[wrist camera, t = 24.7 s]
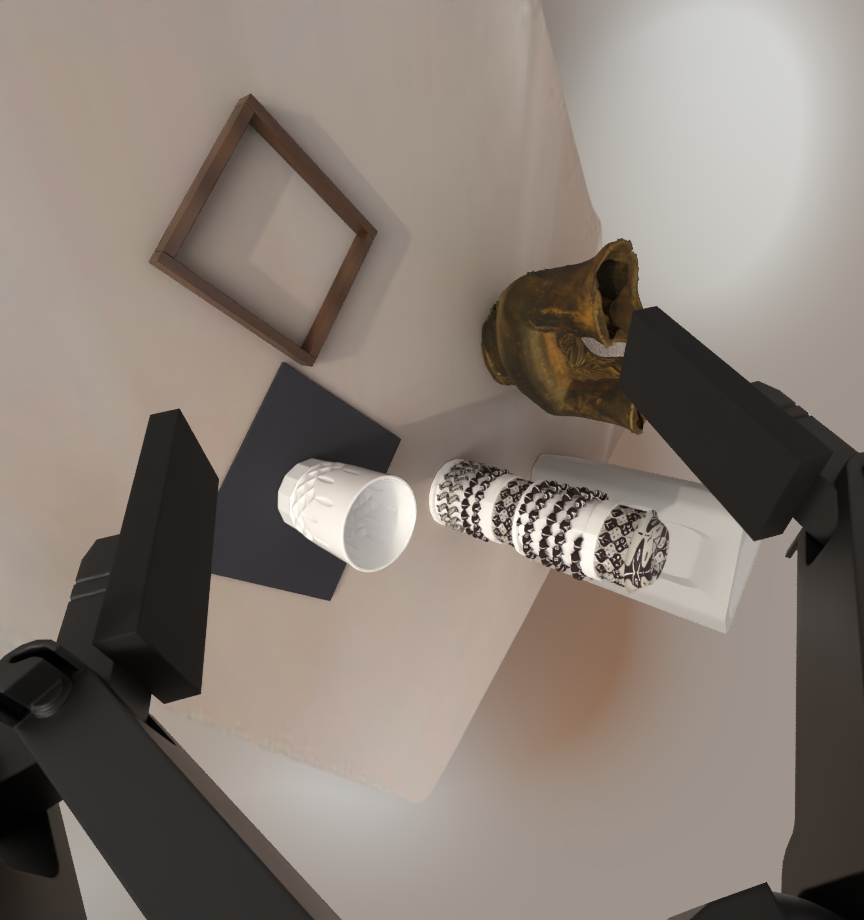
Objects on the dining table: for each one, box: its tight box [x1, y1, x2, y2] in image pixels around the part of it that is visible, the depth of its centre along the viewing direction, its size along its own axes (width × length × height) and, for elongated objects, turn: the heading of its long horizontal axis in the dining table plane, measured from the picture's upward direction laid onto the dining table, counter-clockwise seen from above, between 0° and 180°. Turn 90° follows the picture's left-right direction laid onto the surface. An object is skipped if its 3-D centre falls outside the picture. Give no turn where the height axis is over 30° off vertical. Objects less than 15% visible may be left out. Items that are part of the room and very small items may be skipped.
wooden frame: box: [149, 94, 377, 367], centre depth 40 cm, size 14×14×2 cm
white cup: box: [278, 458, 417, 572], centre depth 44 cm, size 8×8×10 cm
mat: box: [211, 362, 401, 601], centre depth 47 cm, size 18×16×1 cm
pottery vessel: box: [482, 238, 646, 435], centre depth 58 cm, size 25×11×20 cm, turn 46°
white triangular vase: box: [531, 454, 762, 634], centre depth 72 cm, size 19×15×28 cm
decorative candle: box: [429, 459, 670, 594], centre depth 55 cm, size 9×9×25 cm
